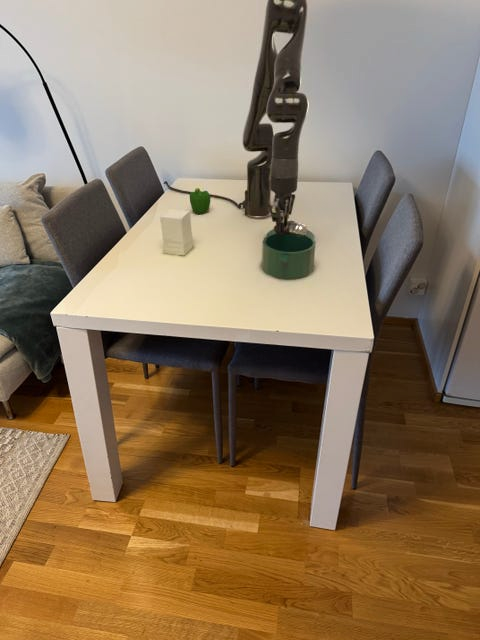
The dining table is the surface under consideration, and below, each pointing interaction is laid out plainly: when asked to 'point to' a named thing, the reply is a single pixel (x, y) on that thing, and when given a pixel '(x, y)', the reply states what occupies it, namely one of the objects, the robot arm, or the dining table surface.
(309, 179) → the dining table surface
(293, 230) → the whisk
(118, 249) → the dining table surface
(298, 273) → the pot
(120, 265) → the dining table surface
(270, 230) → the lid
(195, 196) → the bell pepper
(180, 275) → the dining table surface
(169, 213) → the white packaging box
